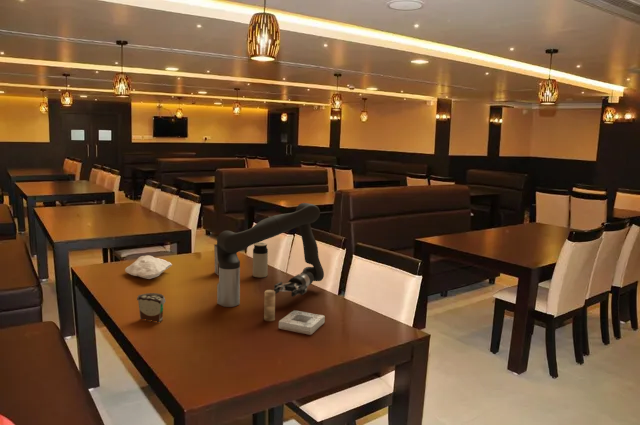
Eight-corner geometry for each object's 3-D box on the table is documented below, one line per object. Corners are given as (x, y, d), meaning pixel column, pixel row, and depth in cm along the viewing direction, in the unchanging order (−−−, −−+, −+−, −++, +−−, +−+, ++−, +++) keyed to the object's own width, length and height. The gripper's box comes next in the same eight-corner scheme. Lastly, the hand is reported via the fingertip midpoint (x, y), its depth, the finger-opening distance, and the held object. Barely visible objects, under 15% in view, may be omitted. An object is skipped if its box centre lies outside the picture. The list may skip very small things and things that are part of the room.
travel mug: (264, 278, 256) (265, 245, 253) (250, 277, 258) (250, 244, 255) (269, 274, 264) (269, 242, 261) (255, 273, 265) (255, 241, 263)
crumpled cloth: (166, 262, 277) (163, 247, 275) (181, 278, 247) (178, 261, 245) (123, 273, 266) (120, 257, 264) (134, 290, 236) (130, 273, 234)
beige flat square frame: (278, 328, 190) (278, 321, 189) (294, 316, 203) (294, 310, 202) (310, 334, 185) (310, 327, 184) (324, 322, 197) (324, 315, 197)
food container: (172, 318, 197) (171, 295, 195) (162, 323, 191) (162, 299, 190) (147, 313, 201) (146, 291, 199) (137, 318, 195) (136, 295, 194)
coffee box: (230, 270, 269) (230, 242, 266) (233, 273, 263) (233, 245, 261) (214, 272, 265) (214, 244, 262) (217, 275, 259) (217, 246, 256)
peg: (262, 320, 198) (262, 292, 196) (267, 316, 202) (267, 289, 200) (271, 321, 196) (272, 293, 195) (276, 318, 200) (277, 290, 199)
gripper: (285, 273, 226) (269, 282, 211) (313, 277, 221) (298, 287, 206) (285, 288, 227) (269, 298, 212) (312, 292, 222) (297, 303, 207)
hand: (283, 292), depth 209 cm, fingers open, 8 cm apart
